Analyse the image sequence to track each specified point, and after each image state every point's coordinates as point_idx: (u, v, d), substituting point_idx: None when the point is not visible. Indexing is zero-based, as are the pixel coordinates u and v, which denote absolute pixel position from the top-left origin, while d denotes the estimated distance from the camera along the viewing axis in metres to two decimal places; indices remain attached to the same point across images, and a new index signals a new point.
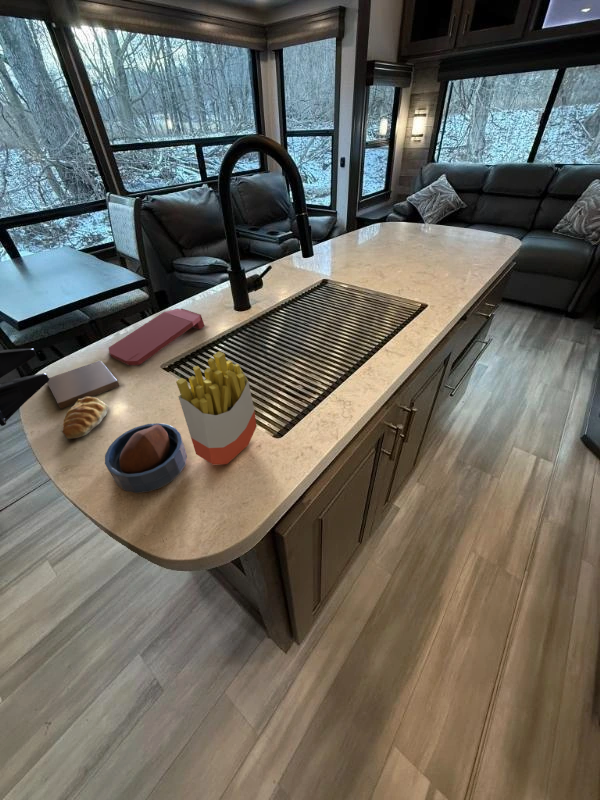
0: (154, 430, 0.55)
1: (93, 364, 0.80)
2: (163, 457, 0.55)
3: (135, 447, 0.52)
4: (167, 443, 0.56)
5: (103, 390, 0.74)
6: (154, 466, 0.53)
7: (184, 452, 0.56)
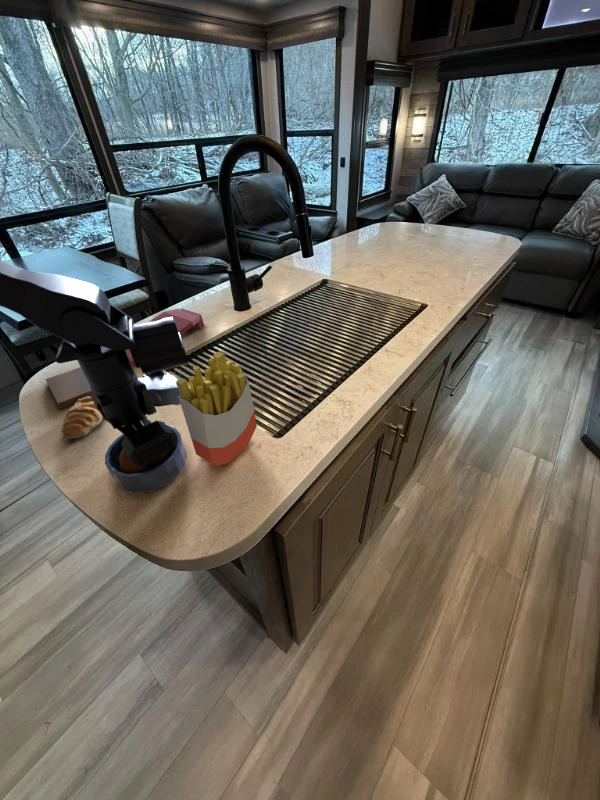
0: None
1: None
2: (163, 457, 0.55)
3: None
4: None
5: None
6: None
7: (184, 452, 0.56)
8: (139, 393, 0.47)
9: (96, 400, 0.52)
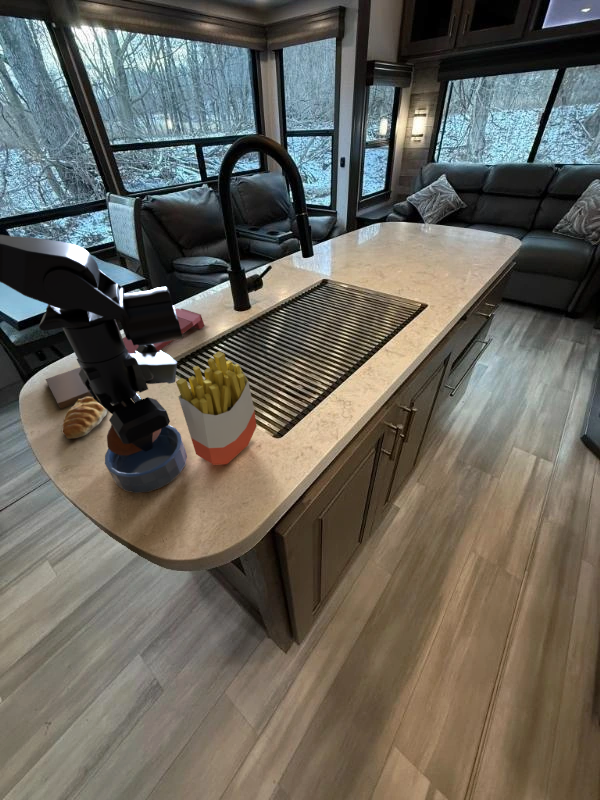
0: None
1: None
2: (154, 436, 0.52)
3: None
4: None
5: None
6: None
7: (184, 452, 0.56)
8: (130, 368, 0.45)
9: (84, 377, 0.49)
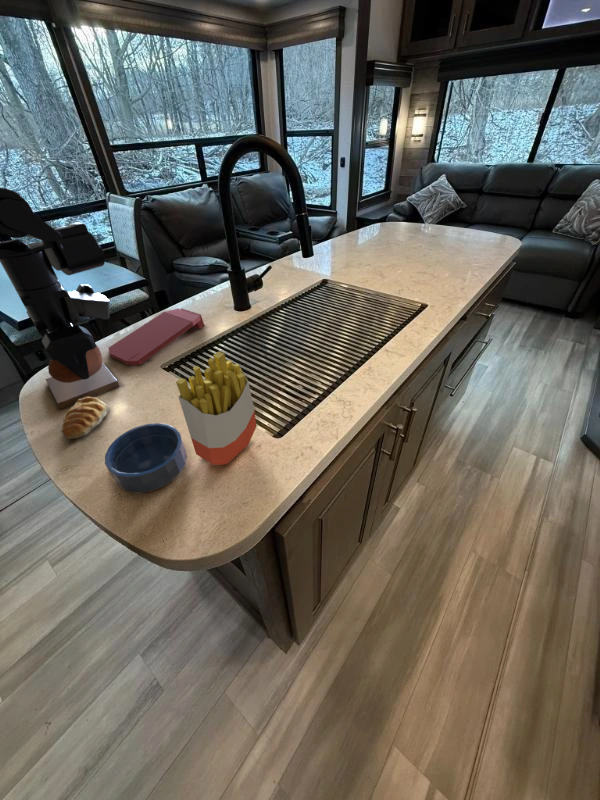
0: None
1: None
2: (92, 368, 0.59)
3: None
4: (97, 356, 0.60)
5: (103, 390, 0.74)
6: None
7: (184, 452, 0.56)
8: (62, 300, 0.52)
9: None
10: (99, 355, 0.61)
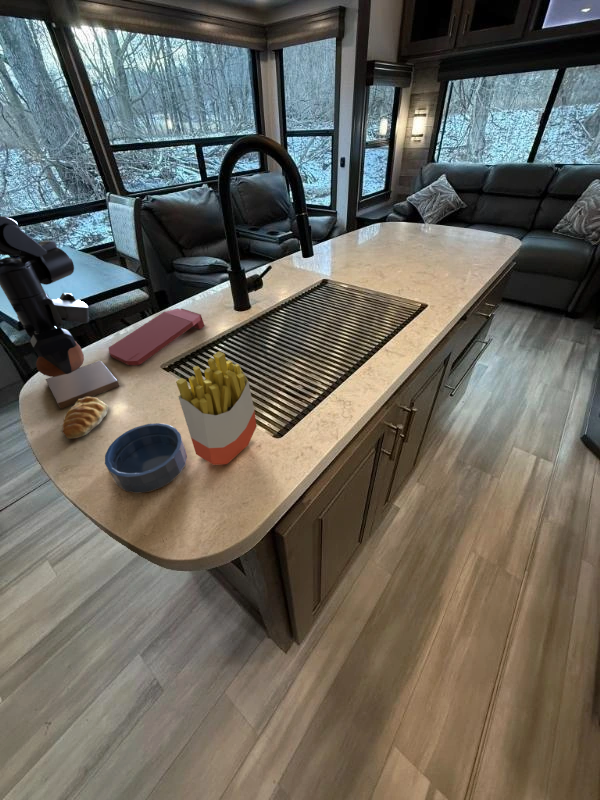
0: None
1: (93, 364, 0.80)
2: (74, 364, 0.69)
3: None
4: (79, 354, 0.70)
5: (103, 390, 0.74)
6: None
7: (184, 452, 0.56)
8: (47, 307, 0.62)
9: None
10: (80, 353, 0.71)
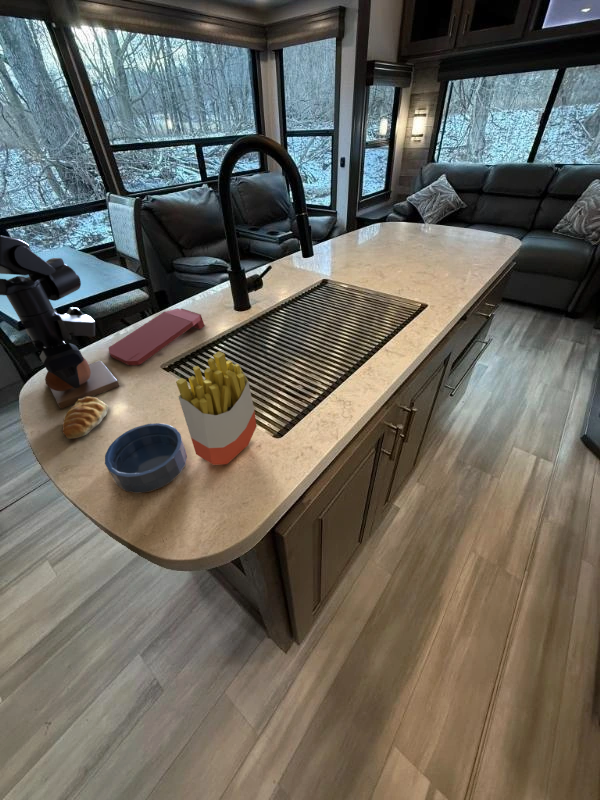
0: None
1: (93, 364, 0.80)
2: (82, 378, 0.71)
3: None
4: (86, 368, 0.72)
5: (103, 390, 0.74)
6: None
7: (184, 452, 0.56)
8: (56, 322, 0.64)
9: None
10: (87, 367, 0.73)
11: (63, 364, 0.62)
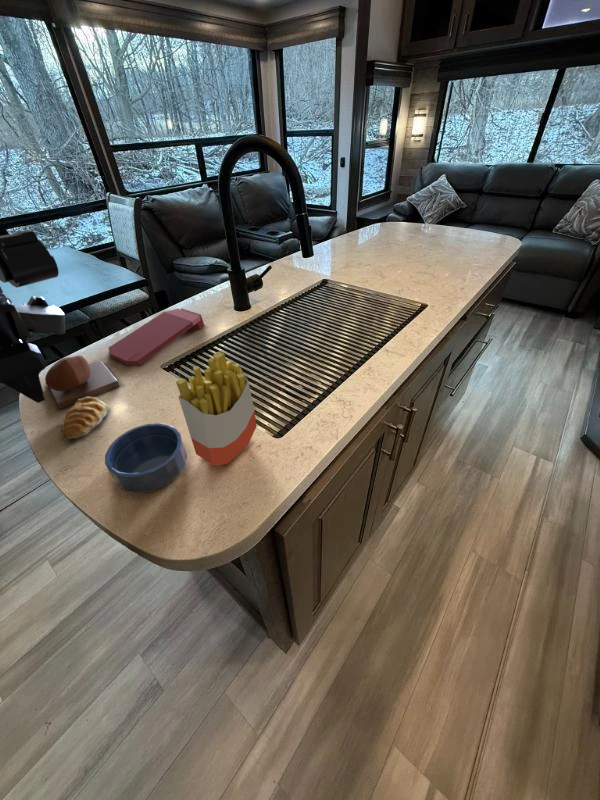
0: (75, 358, 0.71)
1: (93, 364, 0.80)
2: (82, 378, 0.71)
3: (57, 367, 0.68)
4: (86, 368, 0.72)
5: (103, 390, 0.74)
6: (73, 383, 0.70)
7: (184, 452, 0.56)
8: (9, 315, 0.47)
9: None
10: (87, 367, 0.73)
11: (17, 371, 0.45)
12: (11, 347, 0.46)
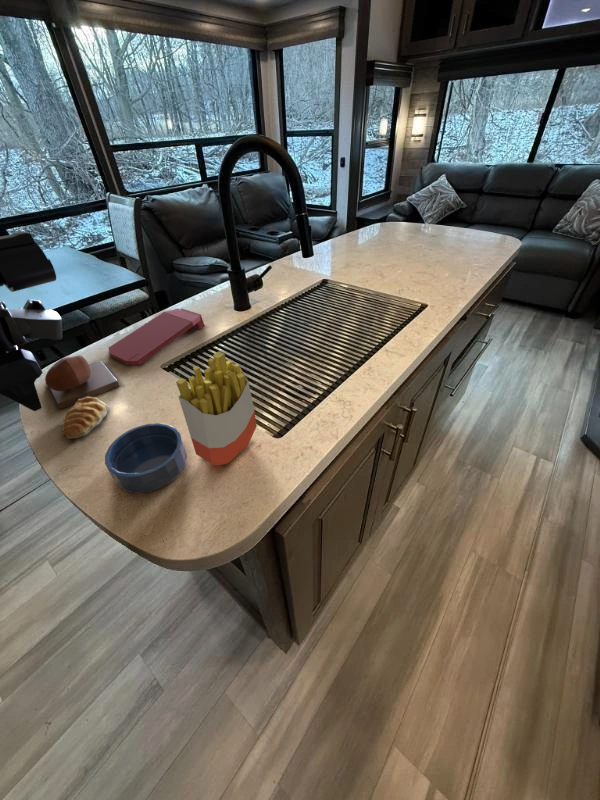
0: (75, 358, 0.71)
1: (93, 364, 0.80)
2: (82, 378, 0.71)
3: (57, 367, 0.68)
4: (86, 368, 0.72)
5: (103, 390, 0.74)
6: (73, 383, 0.70)
7: (184, 452, 0.56)
8: (3, 320, 0.45)
9: None
10: (87, 367, 0.73)
11: (10, 380, 0.43)
12: (4, 354, 0.44)
